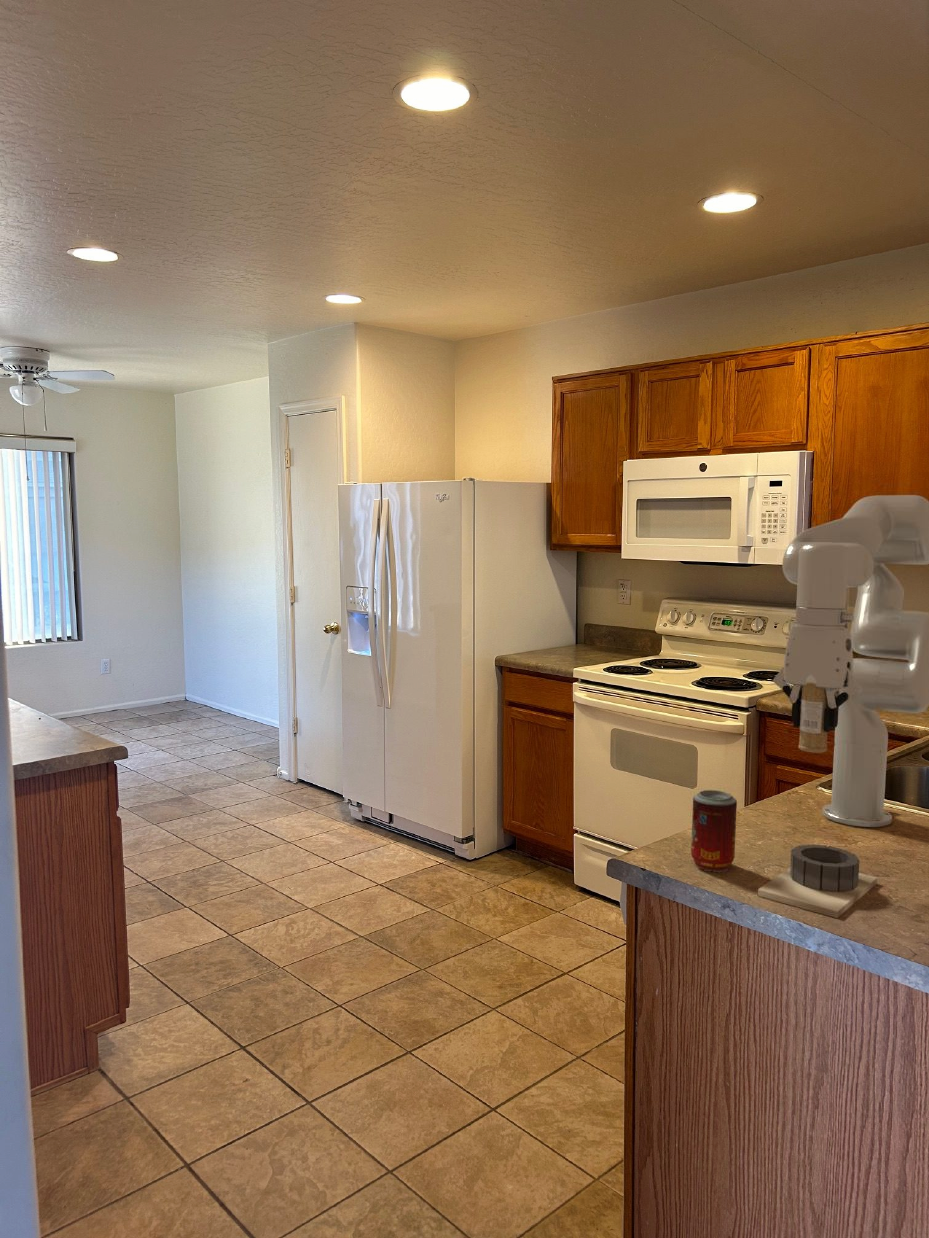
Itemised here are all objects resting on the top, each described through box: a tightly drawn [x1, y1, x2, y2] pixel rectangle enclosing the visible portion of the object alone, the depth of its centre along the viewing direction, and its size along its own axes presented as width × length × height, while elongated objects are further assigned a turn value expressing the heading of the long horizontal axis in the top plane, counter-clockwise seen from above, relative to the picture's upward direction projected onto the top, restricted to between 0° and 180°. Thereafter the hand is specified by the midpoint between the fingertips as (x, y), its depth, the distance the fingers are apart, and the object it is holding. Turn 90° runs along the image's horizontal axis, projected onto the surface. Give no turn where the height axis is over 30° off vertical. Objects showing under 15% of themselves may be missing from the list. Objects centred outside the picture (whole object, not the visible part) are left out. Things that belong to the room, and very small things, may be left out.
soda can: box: [690, 789, 738, 873], centre depth 152 cm, size 7×7×12 cm
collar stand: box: [757, 844, 878, 919], centre depth 143 cm, size 18×12×5 cm, turn 139°
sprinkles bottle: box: [797, 675, 828, 754], centre depth 150 cm, size 5×5×13 cm
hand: (813, 727), depth 151 cm, fingers closed on sprinkles bottle, 4 cm apart
